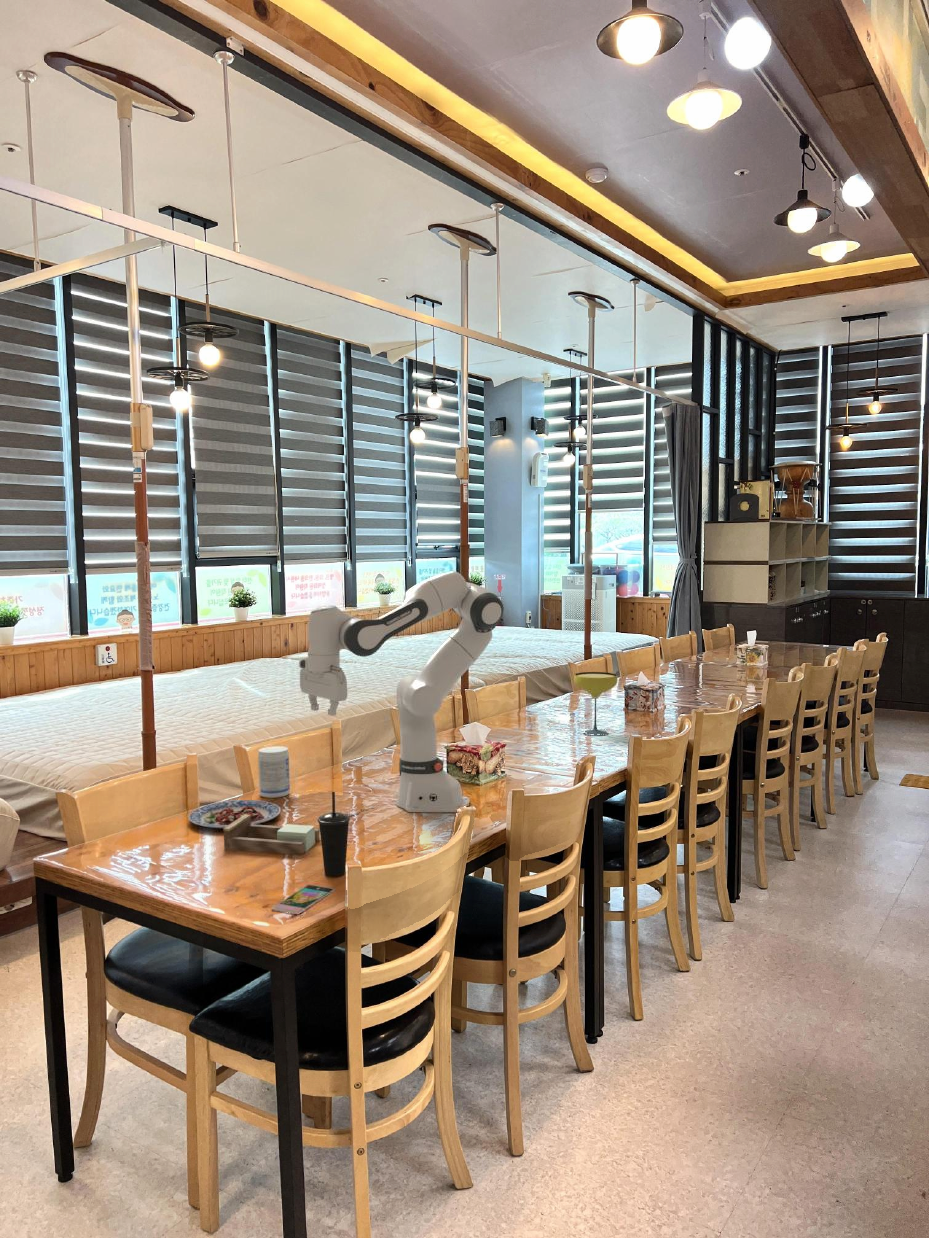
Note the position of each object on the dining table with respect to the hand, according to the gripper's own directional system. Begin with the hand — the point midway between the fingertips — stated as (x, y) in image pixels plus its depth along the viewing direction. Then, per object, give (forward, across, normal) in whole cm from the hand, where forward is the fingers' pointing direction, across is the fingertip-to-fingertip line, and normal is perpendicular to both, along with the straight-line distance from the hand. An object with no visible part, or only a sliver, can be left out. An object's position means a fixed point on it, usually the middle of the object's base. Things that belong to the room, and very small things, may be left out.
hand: (323, 712), depth 242 cm
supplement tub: (+32, +37, -4) cm, 49 cm away
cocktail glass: (+29, +32, -151) cm, 157 cm away
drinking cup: (+32, -35, +17) cm, 50 cm away
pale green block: (+32, -12, +15) cm, 37 cm away
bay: (+32, -7, +18) cm, 38 cm away
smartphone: (+33, -44, +30) cm, 63 cm away
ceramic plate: (+33, +21, +17) cm, 42 cm away
